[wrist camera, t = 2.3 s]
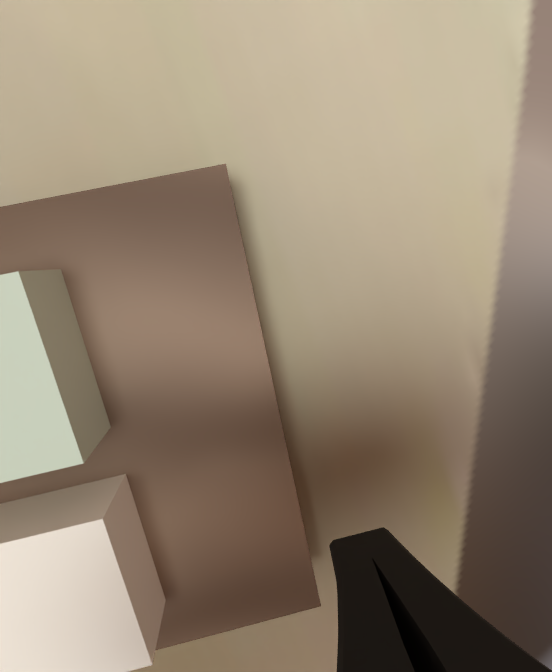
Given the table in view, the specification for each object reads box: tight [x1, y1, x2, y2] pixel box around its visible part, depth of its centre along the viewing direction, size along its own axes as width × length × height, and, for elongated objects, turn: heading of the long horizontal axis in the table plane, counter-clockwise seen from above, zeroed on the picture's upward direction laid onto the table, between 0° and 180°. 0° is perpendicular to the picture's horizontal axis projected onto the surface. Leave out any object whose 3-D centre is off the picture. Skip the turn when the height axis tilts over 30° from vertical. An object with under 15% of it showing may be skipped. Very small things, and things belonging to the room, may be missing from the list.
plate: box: [0, 164, 321, 650], centre depth 12 cm, size 14×14×2 cm
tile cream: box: [0, 474, 166, 672], centre depth 11 cm, size 4×4×2 cm
